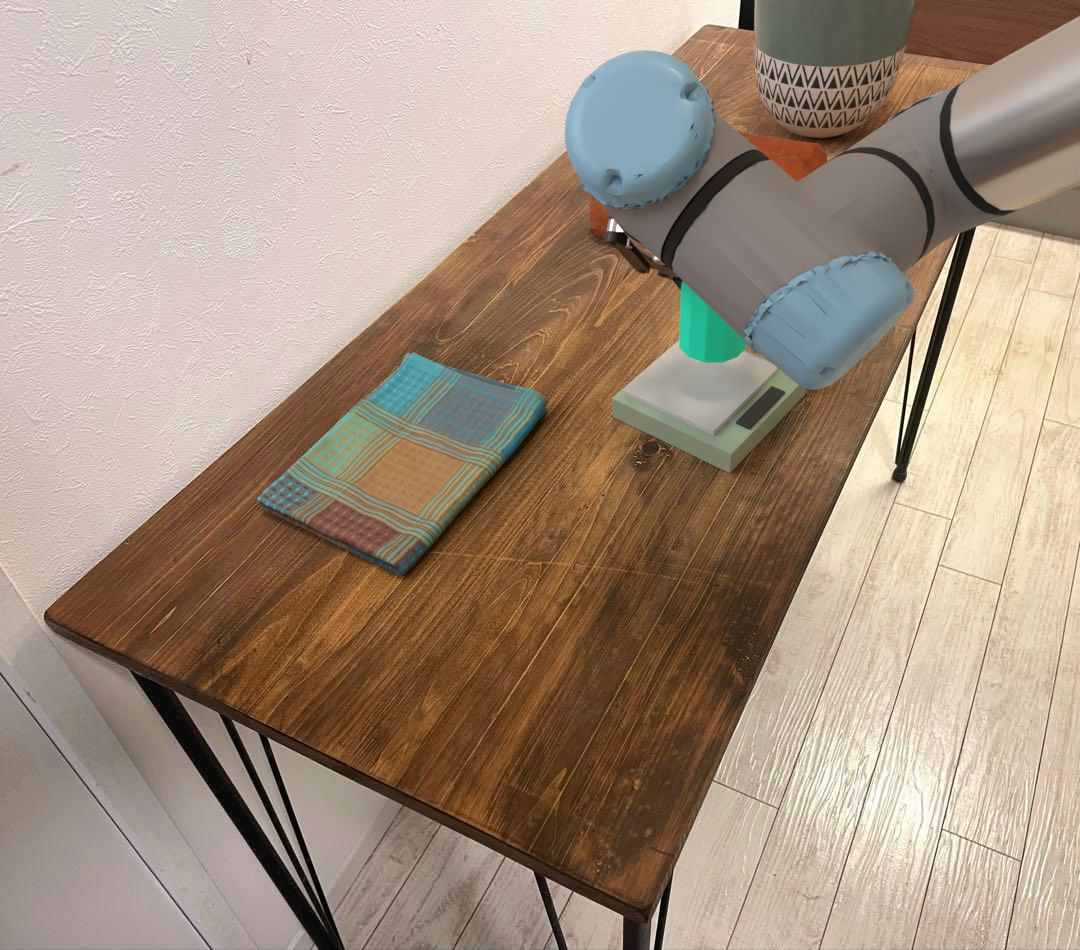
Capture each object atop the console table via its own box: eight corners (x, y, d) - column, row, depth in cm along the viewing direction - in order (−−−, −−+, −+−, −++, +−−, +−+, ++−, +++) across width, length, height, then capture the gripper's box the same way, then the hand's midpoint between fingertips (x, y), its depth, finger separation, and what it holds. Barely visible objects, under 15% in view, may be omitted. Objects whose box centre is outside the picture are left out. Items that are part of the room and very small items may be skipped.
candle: (687, 318, 84) (692, 198, 76) (752, 327, 82) (765, 206, 74) (670, 357, 80) (673, 235, 72) (739, 368, 79) (750, 244, 70)
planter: (890, 166, 116) (925, -17, 101) (733, 157, 121) (744, -18, 106) (897, 101, 129) (930, -70, 114) (755, 95, 134) (768, -69, 119)
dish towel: (555, 412, 88) (553, 392, 86) (407, 582, 75) (401, 562, 73) (414, 364, 95) (410, 345, 94) (256, 511, 82) (248, 491, 80)
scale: (805, 395, 87) (809, 370, 84) (729, 473, 80) (732, 449, 78) (690, 348, 93) (691, 324, 91) (612, 417, 87) (611, 392, 85)
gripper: (539, 249, 62) (618, 313, 84) (811, 283, 57) (819, 342, 79) (560, 139, 62) (634, 232, 84) (836, 163, 56) (836, 256, 78)
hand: (723, 285), depth 81 cm, fingers closed on candle, 5 cm apart
